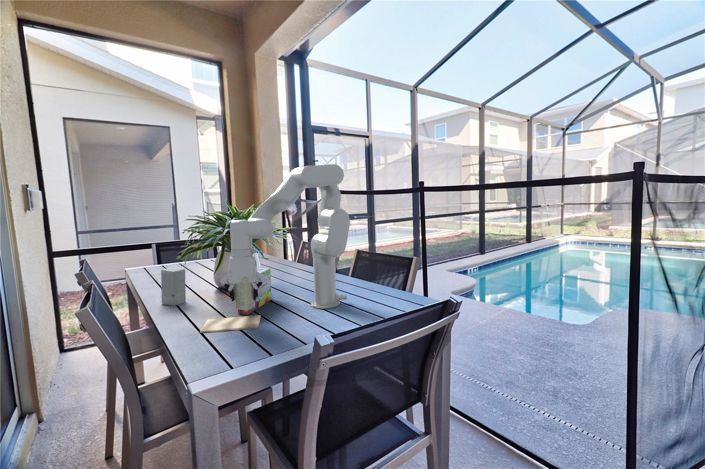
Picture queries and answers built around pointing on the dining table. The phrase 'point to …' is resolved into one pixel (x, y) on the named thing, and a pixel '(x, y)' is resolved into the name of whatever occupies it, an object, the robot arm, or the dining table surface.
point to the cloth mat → (231, 324)
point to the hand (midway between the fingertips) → (244, 299)
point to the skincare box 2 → (244, 295)
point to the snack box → (261, 291)
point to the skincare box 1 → (173, 286)
